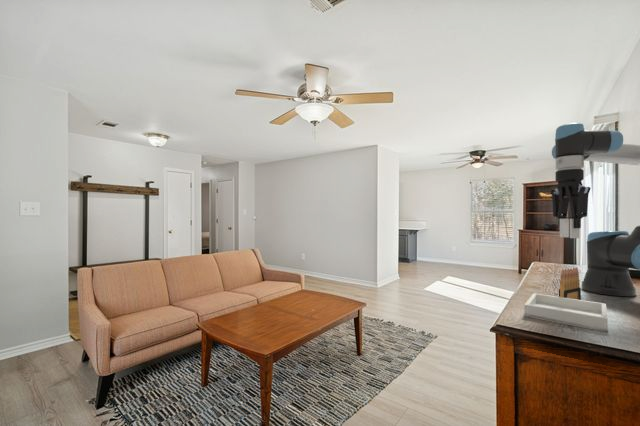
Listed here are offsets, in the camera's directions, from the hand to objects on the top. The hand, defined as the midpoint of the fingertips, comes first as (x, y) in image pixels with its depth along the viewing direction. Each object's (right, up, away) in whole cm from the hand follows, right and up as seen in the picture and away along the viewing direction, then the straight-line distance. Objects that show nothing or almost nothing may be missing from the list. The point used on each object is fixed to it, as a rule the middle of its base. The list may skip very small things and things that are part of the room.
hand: (569, 237), depth 104 cm
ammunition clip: (0, -23, 0) cm, 23 cm away
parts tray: (-12, -22, -13) cm, 29 cm away
